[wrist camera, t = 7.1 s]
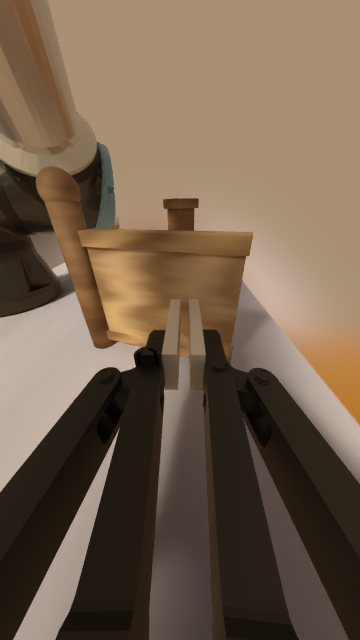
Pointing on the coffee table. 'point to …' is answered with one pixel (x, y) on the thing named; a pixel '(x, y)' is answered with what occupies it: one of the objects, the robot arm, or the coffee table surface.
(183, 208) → the latch post
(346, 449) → the coffee table surface
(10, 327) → the coffee table surface
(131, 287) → the gate
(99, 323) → the hinge post
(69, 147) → the robot arm
